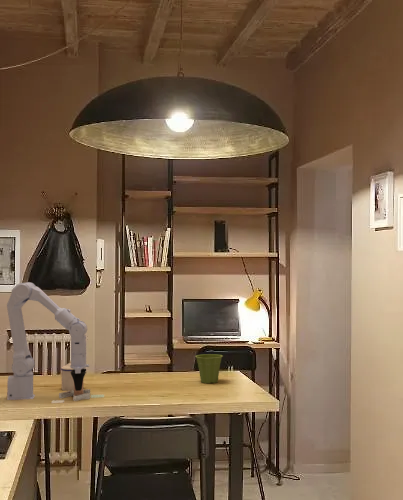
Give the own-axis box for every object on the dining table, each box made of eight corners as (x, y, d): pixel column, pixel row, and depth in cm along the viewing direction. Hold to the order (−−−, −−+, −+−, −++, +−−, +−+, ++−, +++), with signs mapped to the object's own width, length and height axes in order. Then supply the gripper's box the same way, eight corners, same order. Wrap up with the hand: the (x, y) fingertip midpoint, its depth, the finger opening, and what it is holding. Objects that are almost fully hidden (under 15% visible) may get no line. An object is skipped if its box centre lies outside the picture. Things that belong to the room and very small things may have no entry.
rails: (57, 402, 237) (57, 396, 237) (59, 395, 249) (59, 390, 249) (89, 400, 239) (89, 395, 239) (90, 394, 251) (90, 389, 251)
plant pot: (223, 379, 282) (223, 353, 283) (221, 384, 271) (221, 358, 271) (196, 379, 284) (196, 353, 284) (193, 384, 272) (193, 357, 272)
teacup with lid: (80, 391, 258) (80, 362, 258) (58, 391, 259) (58, 362, 259) (88, 386, 270) (88, 358, 270) (66, 385, 271) (66, 357, 271)
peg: (73, 395, 244) (73, 376, 244) (74, 393, 247) (73, 375, 247) (83, 395, 244) (83, 376, 244) (83, 393, 248) (83, 374, 248)
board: (50, 405, 234) (50, 403, 234) (53, 396, 249) (53, 395, 249) (105, 402, 237) (105, 401, 237) (105, 394, 252) (105, 393, 252)
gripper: (88, 355, 239) (88, 392, 239) (89, 350, 254) (89, 385, 253) (69, 356, 238) (69, 393, 238) (71, 351, 253) (71, 386, 252)
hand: (78, 389), depth 246 cm, fingers closed on peg, 4 cm apart
